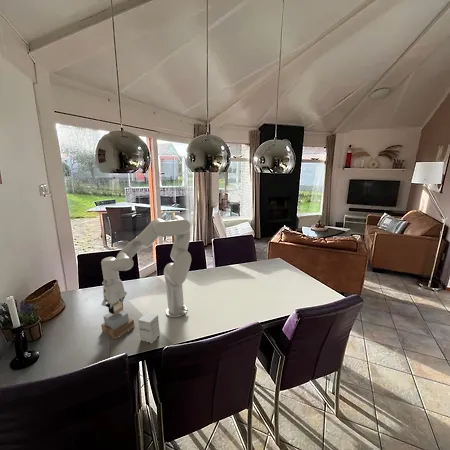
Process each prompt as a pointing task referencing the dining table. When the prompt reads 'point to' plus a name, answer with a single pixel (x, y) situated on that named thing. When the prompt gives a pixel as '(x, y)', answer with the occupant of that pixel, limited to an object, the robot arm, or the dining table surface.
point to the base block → (117, 329)
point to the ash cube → (117, 307)
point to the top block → (116, 319)
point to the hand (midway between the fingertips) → (116, 310)
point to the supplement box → (149, 327)
